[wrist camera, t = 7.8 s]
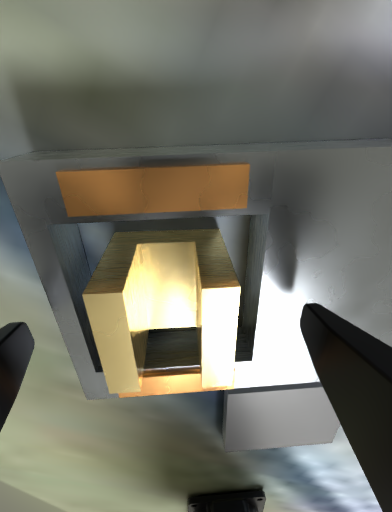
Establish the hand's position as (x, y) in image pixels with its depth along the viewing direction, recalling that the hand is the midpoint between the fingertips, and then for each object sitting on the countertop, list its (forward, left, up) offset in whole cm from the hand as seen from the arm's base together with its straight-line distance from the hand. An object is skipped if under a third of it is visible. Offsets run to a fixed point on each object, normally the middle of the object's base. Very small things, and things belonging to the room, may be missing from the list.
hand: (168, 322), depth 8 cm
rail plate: (0, -4, -3) cm, 5 cm away
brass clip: (0, 0, -3) cm, 3 cm away
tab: (-10, -6, -3) cm, 12 cm away
